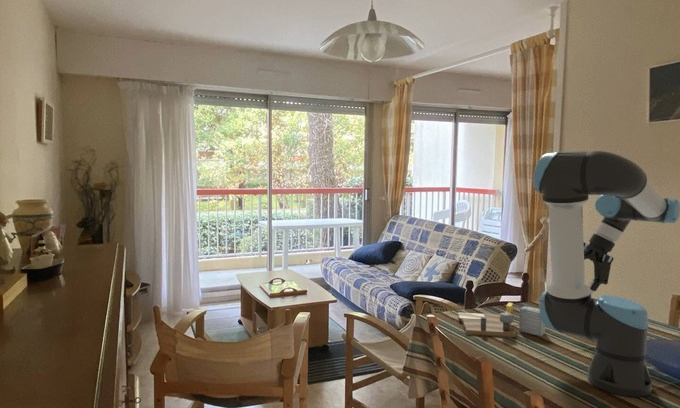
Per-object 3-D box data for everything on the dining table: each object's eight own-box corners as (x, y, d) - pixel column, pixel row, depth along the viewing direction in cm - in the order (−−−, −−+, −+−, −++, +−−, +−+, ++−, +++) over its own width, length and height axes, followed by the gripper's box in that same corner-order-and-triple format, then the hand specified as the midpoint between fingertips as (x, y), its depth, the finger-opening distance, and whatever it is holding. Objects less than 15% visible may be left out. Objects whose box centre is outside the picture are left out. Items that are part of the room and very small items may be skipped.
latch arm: (511, 331, 158) (512, 312, 158) (498, 329, 160) (499, 310, 160) (516, 321, 169) (516, 303, 168) (503, 319, 171) (504, 301, 171)
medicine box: (545, 333, 163) (546, 310, 162) (541, 337, 160) (542, 313, 159) (523, 328, 168) (524, 305, 167) (518, 331, 165) (519, 308, 164)
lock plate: (515, 337, 159) (516, 320, 159) (463, 334, 162) (463, 317, 161) (503, 318, 179) (504, 304, 178) (457, 316, 181) (457, 301, 181)
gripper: (640, 255, 148) (604, 308, 152) (588, 230, 172) (559, 277, 175) (624, 246, 146) (588, 301, 150) (574, 222, 170) (544, 270, 173)
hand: (572, 288), depth 163 cm, fingers open, 13 cm apart
